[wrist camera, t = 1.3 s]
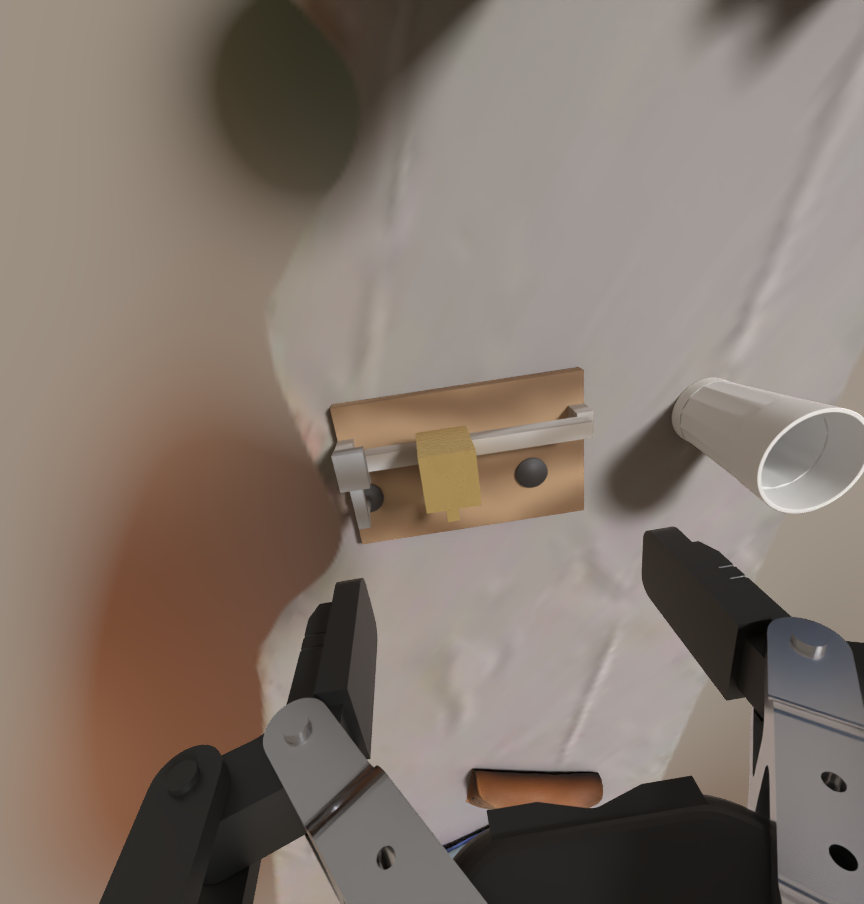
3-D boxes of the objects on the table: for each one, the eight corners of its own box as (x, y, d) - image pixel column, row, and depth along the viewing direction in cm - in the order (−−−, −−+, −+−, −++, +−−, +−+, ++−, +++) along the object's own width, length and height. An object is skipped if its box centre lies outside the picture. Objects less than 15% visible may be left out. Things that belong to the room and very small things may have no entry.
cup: (753, 427, 43) (876, 484, 32) (674, 463, 44) (766, 530, 33) (738, 353, 40) (869, 387, 29) (653, 392, 41) (748, 440, 30)
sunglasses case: (462, 805, 63) (472, 839, 56) (466, 751, 64) (476, 778, 57) (582, 807, 65) (606, 840, 58) (584, 755, 66) (607, 781, 59)
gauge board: (331, 404, 39) (320, 428, 33) (578, 367, 39) (608, 384, 33) (363, 537, 45) (357, 577, 39) (579, 503, 45) (605, 538, 39)
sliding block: (414, 418, 38) (417, 458, 30) (460, 410, 38) (475, 449, 30) (426, 496, 41) (433, 552, 33) (469, 490, 41) (485, 544, 33)
